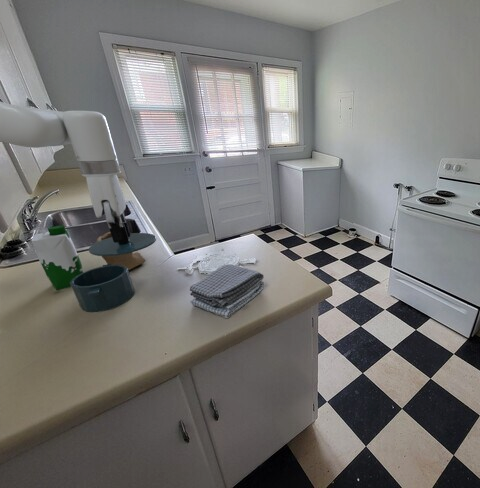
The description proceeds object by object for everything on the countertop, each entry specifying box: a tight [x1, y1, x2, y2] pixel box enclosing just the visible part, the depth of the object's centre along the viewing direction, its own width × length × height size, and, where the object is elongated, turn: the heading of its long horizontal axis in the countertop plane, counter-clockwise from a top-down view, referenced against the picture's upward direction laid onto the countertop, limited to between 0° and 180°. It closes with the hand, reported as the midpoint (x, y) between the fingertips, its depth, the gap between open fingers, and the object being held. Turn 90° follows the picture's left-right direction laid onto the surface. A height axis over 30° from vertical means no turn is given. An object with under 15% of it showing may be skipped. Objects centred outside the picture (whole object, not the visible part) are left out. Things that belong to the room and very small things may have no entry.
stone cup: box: [95, 231, 147, 271], centre depth 100 cm, size 15×12×15 cm
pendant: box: [181, 250, 257, 276], centre depth 105 cm, size 21×28×1 cm
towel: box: [189, 264, 265, 319], centre depth 84 cm, size 15×18×8 cm
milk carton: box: [31, 224, 84, 291], centre depth 90 cm, size 9×9×20 cm
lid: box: [88, 222, 157, 257], centre depth 71 cm, size 15×15×7 cm
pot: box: [70, 263, 136, 313], centre depth 83 cm, size 14×19×8 cm
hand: (122, 238), depth 72 cm, fingers closed on lid, 2 cm apart
